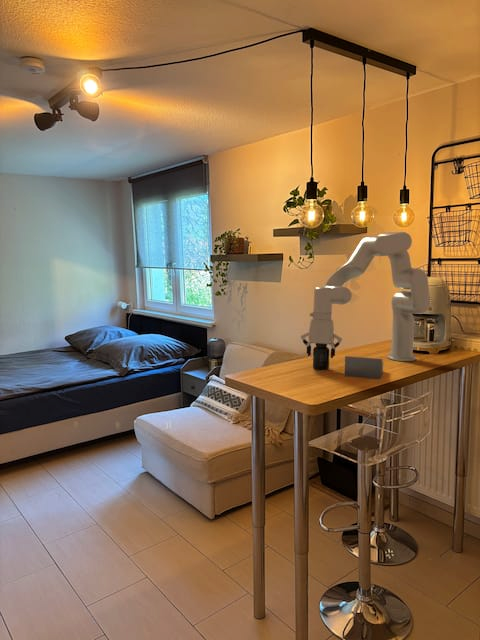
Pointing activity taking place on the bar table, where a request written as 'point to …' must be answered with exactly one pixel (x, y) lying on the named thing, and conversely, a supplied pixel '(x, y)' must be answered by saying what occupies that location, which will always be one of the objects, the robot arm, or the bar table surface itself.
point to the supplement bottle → (321, 357)
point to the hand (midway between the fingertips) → (320, 356)
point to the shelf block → (363, 367)
